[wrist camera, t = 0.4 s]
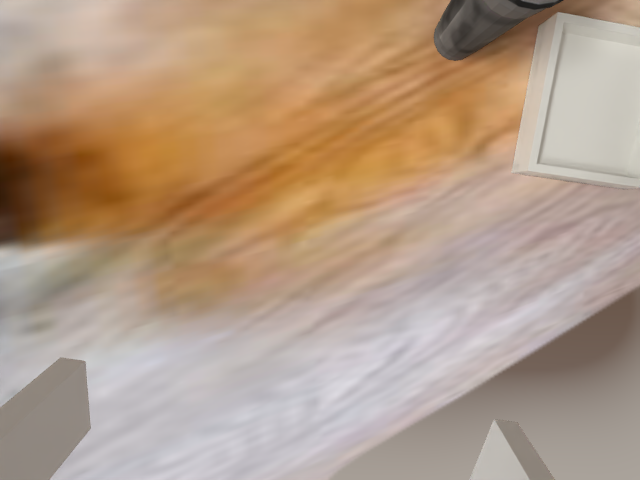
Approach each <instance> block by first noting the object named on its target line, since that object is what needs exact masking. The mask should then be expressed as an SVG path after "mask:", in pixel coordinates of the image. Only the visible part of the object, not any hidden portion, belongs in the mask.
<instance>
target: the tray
mask: <svg viewBox="0 0 640 480" xmlns="http://www.w3.org/2000/svg"><path fill="white" fill-rule="evenodd" d="M511 173H515V174H522V175H529V176H536V177H543V178H549V179H556V180H563V181H570V182H577V183H584V184H590V185H597V186H604V187H611V188H618V189H636V188H640V27H634V26H629V25H624V24H619V23H614V22H608V21H603V20H598V19H593V18H587V17H582V16H577V15H572V14H566V13H561V12H557V13H556V14H554V15H553V16H552V17H550V18H549V19H547V20H546V21H545V22H543V23H542V24H541V25H539V27H538V33H537V38H536V43H535V49H534V54H533V59H532V65H531V70H530V75H529V81H528V86H527V92H526V97H525V102H524V108H523V113H522V118H521V124H520V129H519V135H518V140H517V145H516V151H515V156H514V161H513V167H512V172H511Z"/></svg>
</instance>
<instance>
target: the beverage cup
mask: <svg viewBox="0 0 640 480" xmlns="http://www.w3.org/2000/svg"><path fill="white" fill-rule="evenodd" d="M561 1H563V0H451V1H450V3H449V5H448V6H447V8H446V10H445V11H444V13H443V15H442V17H441V19H440V21H439V23H438V25H437V27H436V29H435V33H434V42H435V46H436V48H437V50H438V52H439V53H440V54H441V55H442V56H443V57H445V58H447V59H449V60H454V61H456V60H462V59H464V58H465V57H467V56H469V55H470V54H472V53H474V52H476V51H478V50H479V49H481V48H482V47H484V46H485V45H487V44H488V43H490V42H491V41H493V40H494V39H496V38H497V37H499V36H500V35H502V34H503V33H505V32H506V31H508V30H509V29H511V28H512V27H514V26H515V25H517V24H518V23H520V22H521V21H523V20H524V19H526V18H528V17H530V16H532V15H534V14H536V13H538V12H540V11H542V10H544V9H546V8H549V7H552V6H554V5H555V4H557V3H559V2H561Z"/></svg>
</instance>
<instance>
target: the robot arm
mask: <svg viewBox="0 0 640 480" xmlns="http://www.w3.org/2000/svg"><path fill="white" fill-rule="evenodd" d="M90 429H91V426H90V414H89V401H88V389H87V376H86V364H85V361H81V360H74V359H67V358H59V359H58V360H57V361H56V362H55V363H53V364H52V365H51V366H50V367H49V368H47V369H46V370H45V371H44V372H43V373H41V374H40V375H39V376H38V377H37V378H35V379H34V380H33V381H32V382H31V383H29V384H28V385H27V386H26V387H25V388H23V389H22V390H21V391H20V392H19V393H17V394H16V395H15V396H14V397H13V398H11V399H10V400H9V401H8V402H7V403H5V404H4V405H3V406H2V407H1V408H0V480H49V479H50V478H51V477H52V476H53V474H54V473H55V472H56V471H57V469H58V468H59V467H60V466H61V465H62V463H63V462H64V461H65V460H66V458H67V457H68V456H69V455H70V453H71V452H72V451H73V450H74V448H75V447H76V446H77V445H78V443H79V442H80V441H81V440H82V439H83V437H84V436H85V435H86V434H87V432H88V431H89V430H90ZM470 480H555V479H554V477H553V476H552V474H551V473H550V471H549V470H548V468H547V467H546V465H545V464H544V462H543V461H542V459H541V458H540V456H539V455H538V453H537V452H536V450H535V449H534V447H533V445H532V444H531V442H530V441H529V439H528V438H527V437H526V435H525V433H524V432H523V430H522V429H521V427H520V426H519V424H518V423H517V422H511V421H504V420H497V419H494V421H493V423H492V426H491V428H490V431H489V433H488V436H487V438H486V441H485V443H484V446H483V448H482V451H481V453H480V456H479V458H478V460H477V463H476V465H475V468H474V470H473V473H472V476H471V478H470Z"/></svg>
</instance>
